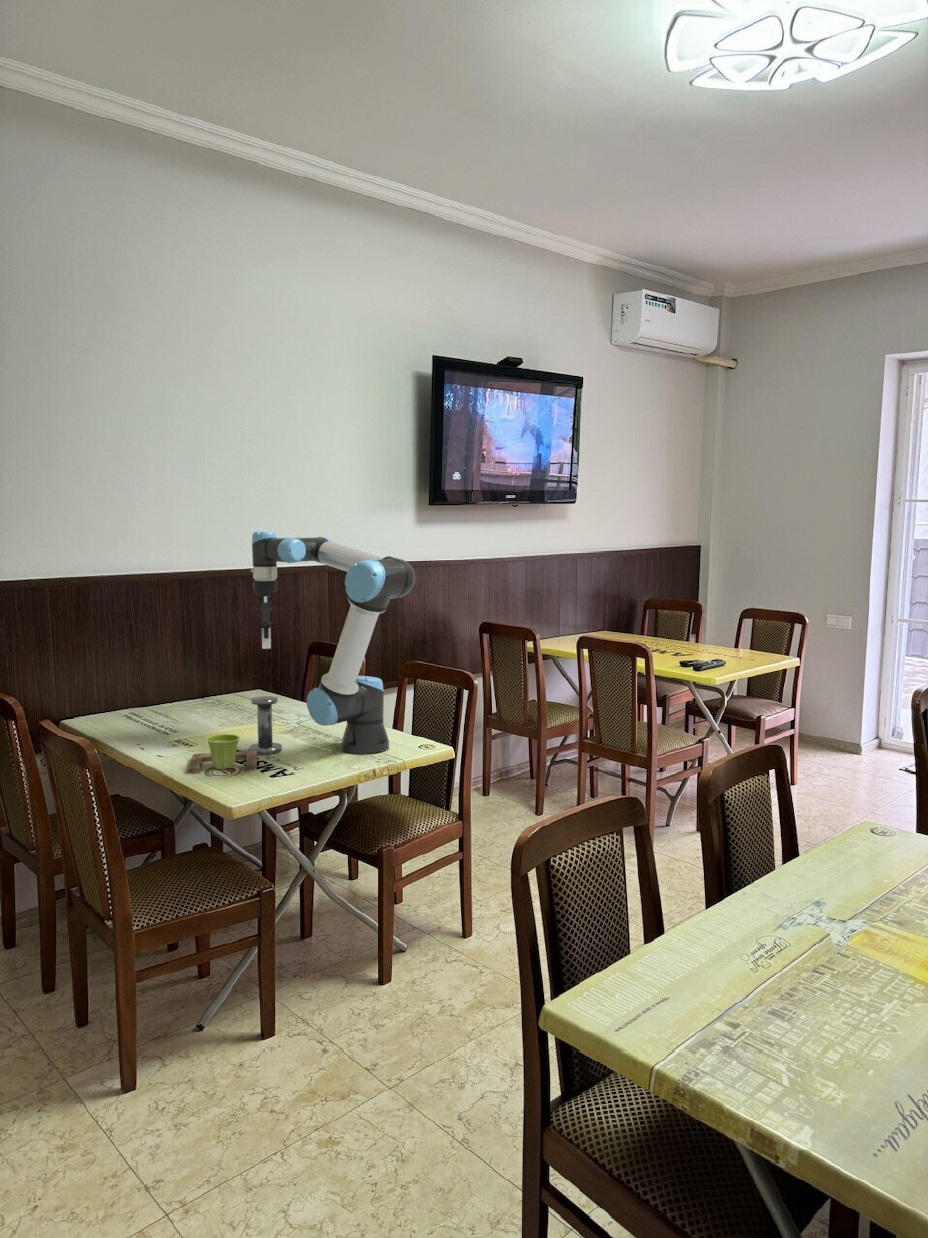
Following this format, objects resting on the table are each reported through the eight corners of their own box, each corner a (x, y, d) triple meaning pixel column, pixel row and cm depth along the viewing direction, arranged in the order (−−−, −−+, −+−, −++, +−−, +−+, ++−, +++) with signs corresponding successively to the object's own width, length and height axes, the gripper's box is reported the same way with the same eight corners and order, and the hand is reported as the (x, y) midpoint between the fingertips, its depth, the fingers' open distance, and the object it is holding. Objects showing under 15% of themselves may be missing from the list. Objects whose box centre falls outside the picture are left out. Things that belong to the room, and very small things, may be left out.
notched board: (257, 755, 273) (257, 750, 273) (256, 769, 258) (256, 764, 258) (192, 759, 269) (192, 754, 269) (188, 773, 254) (188, 768, 254)
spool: (281, 746, 285) (280, 694, 283) (282, 754, 275) (280, 701, 273) (249, 747, 282) (248, 696, 281) (248, 756, 273) (247, 702, 271)
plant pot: (245, 763, 265) (244, 734, 264) (233, 772, 256) (232, 742, 255) (214, 762, 266) (213, 733, 265) (202, 771, 257) (201, 741, 256)
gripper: (253, 577, 296) (255, 640, 298) (252, 582, 272) (254, 651, 274) (276, 577, 297) (277, 639, 300) (277, 582, 273) (278, 650, 276)
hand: (266, 645), depth 287 cm, fingers open, 13 cm apart
